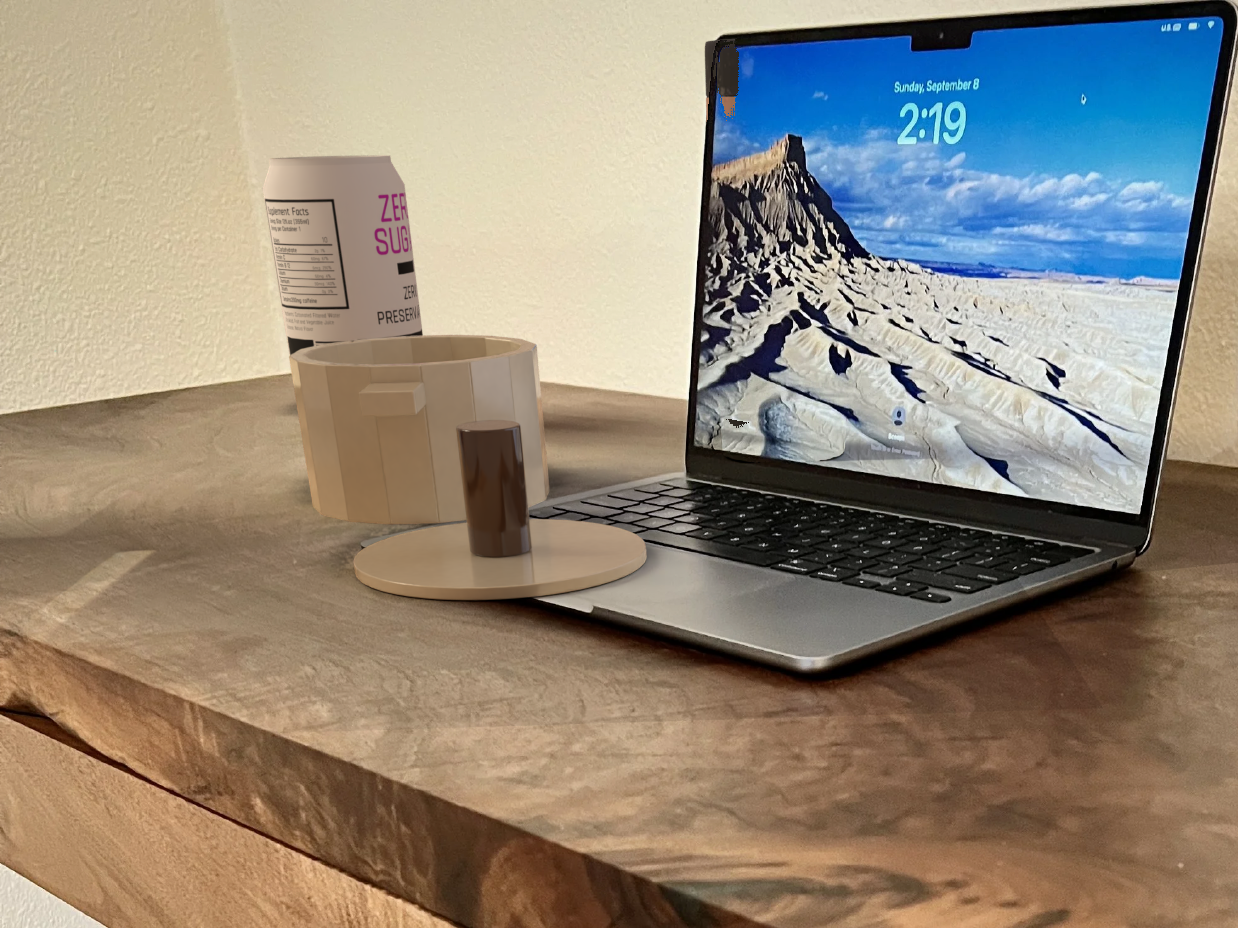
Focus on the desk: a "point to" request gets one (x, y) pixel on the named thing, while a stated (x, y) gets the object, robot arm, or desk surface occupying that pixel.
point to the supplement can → (341, 249)
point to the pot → (410, 421)
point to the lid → (498, 537)
